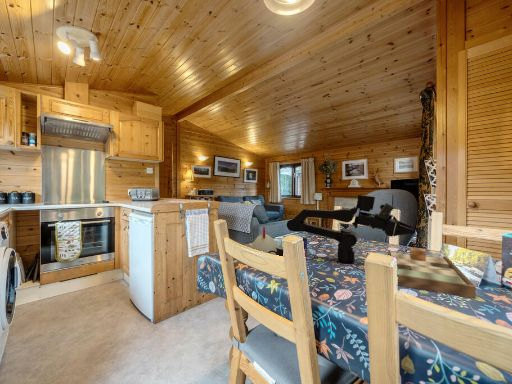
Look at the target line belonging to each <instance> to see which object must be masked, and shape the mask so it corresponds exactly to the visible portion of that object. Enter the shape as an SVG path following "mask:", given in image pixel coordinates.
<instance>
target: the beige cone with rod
mask: <svg viewBox="0 0 512 384" xmlns="http://www.w3.org/2000/svg"><path fill="white" fill-rule="evenodd" d="M277 246H278V244H277V243H276V241H275V240H274V239H273V238H272V237H271V236H270V235H268V234H266V226H263V227H262V233H261V234H259V235H258V236H257V237H256V238H255V239H254V241H253V243H251V244H250V246H249V247H250V248H253V249H256V250H259V251H263V252H266V253H268V252H269V251H272V250H273V251H276V252H277V248H276V247H277ZM250 248H249V249H250ZM270 254H275V255H276V253H274V252H271V253H270Z"/></svg>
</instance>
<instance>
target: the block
mask: <svg viewBox="0 0 512 384" xmlns="http://www.w3.org/2000/svg"><path fill="white" fill-rule="evenodd" d="M426 253H427V252H426V250H425V249H424V248H419V247H418V248H417V247H409V255H410V258H411V260H419V261H426V256H427V255H426Z"/></svg>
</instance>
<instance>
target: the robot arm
mask: <svg viewBox="0 0 512 384" xmlns="http://www.w3.org/2000/svg"><path fill="white" fill-rule="evenodd" d="M356 201H357V202H356V205H355V206H353V207H352V208H341V209H340V208H339V209H315V208H314V209H313V208H311V209H310V208H304V209H302V210H301V212H299V213H298V214H297V215H296V216H295V217H293V218H291V219H289V220H287V223H286V227H287V230H289V232H297V233H300V232H302V233H303V232H304V233H308V234H312V235H316V236H320V237H325V238H328V239H332V240H335V241H336V242H338V243H337V260H336V262H337V263H339V264H340V263H341V264H348V265H349V264H350V265H353V264H354V262H355V260H356V257H355V254H356V252H355V251H354V246H356V245H357V242H358V239H359V237H358V234H357V233H356V232H354V231H353V230H352V229H347V228H345V227H341V229H340V230H336V229H332V228H328V227H323V226H320V225H315V224H311V223H308V222H307V221H306V219H308V218H315V219H331V220H335V221H337V222H342V223H350V222H351V221H353V219H354V221H353V222H352V223H351V225H352V226H353V227H354V228H355V229H357V228H358V225H359V226H365V227H367V228H368V227H369V228H371V229H373V230H375V229H378V230H382V232H384V234H385V235H386V236H387V237H392V238H393V237H396V236H397V237H398V236H402V235H412V234H416V230H415V229H412V227H413V226H412V225H410V224H407V223H405V222H402V221H400V220H398V219H397V218H396V217H395V215H393V214H390V213H391V212H392V211H393V210H394V208H395V207H394V206H393V205H391V204H389V203H388V202H385V203H384V204H381V205H380V206H379V209H380V211H379V212H378V213H375V212H374V213H370V211H373V209H374V206H375V201H376V196H371V195H365V194H364V195H363V194H362V195H361V194H358V195H357V200H356ZM358 210H359V211H358ZM357 212H358V214H357ZM356 214H357V215H356Z"/></svg>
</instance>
